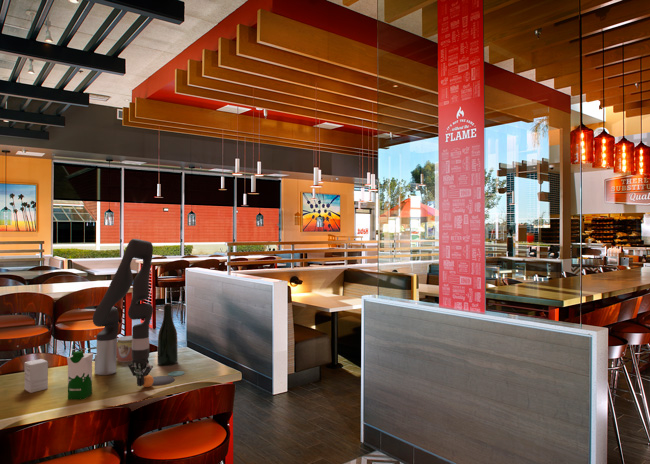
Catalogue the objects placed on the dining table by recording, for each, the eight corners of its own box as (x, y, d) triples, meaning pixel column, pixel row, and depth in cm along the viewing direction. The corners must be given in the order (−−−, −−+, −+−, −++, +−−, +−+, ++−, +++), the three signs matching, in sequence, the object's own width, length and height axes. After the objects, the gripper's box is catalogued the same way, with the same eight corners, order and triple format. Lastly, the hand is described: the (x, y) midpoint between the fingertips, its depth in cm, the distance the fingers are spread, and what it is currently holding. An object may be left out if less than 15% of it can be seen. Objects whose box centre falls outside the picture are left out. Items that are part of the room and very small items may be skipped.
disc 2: (165, 375, 226) (165, 375, 226) (172, 371, 234) (172, 370, 234) (180, 376, 225) (180, 376, 225) (187, 371, 233) (187, 371, 233)
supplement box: (42, 385, 212) (42, 358, 212) (48, 388, 207) (48, 361, 207) (23, 389, 206) (24, 361, 206) (29, 393, 201) (30, 364, 201)
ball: (141, 372, 209) (151, 371, 214) (136, 383, 209) (145, 381, 214) (148, 379, 206) (157, 378, 211) (143, 390, 207) (152, 388, 211)
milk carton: (64, 400, 193) (64, 353, 193) (75, 393, 202) (75, 348, 202) (85, 400, 193) (85, 353, 193) (95, 392, 202) (95, 347, 202)
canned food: (113, 361, 251) (113, 340, 251) (123, 356, 262) (123, 335, 262) (133, 362, 251) (133, 340, 251) (142, 356, 262) (142, 335, 262)
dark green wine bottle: (161, 360, 254) (162, 301, 254) (180, 360, 253) (180, 301, 253) (154, 366, 243) (154, 304, 243) (173, 366, 243) (173, 304, 243)
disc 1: (138, 385, 213) (138, 384, 213) (153, 375, 227) (153, 375, 227) (166, 386, 211) (166, 385, 211) (179, 376, 225) (179, 376, 225)
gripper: (157, 346, 208) (157, 384, 208) (135, 344, 213) (135, 381, 213) (145, 350, 201) (145, 389, 201) (123, 348, 206) (122, 386, 206)
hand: (140, 385), depth 207 cm, fingers closed
